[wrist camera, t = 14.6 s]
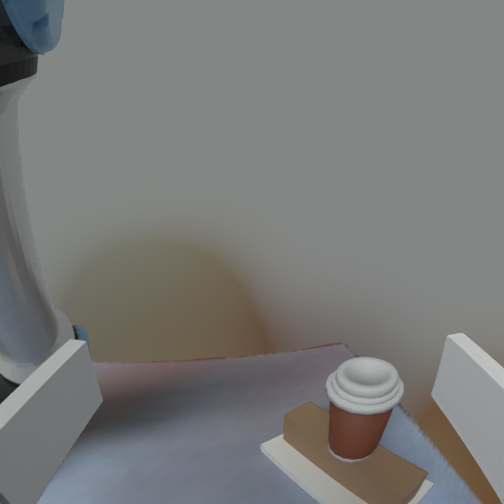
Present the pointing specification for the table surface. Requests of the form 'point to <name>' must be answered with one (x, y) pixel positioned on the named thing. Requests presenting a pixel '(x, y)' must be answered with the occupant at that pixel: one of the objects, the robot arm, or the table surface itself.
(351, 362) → the coffee cup
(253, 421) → the table surface
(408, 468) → the stand
